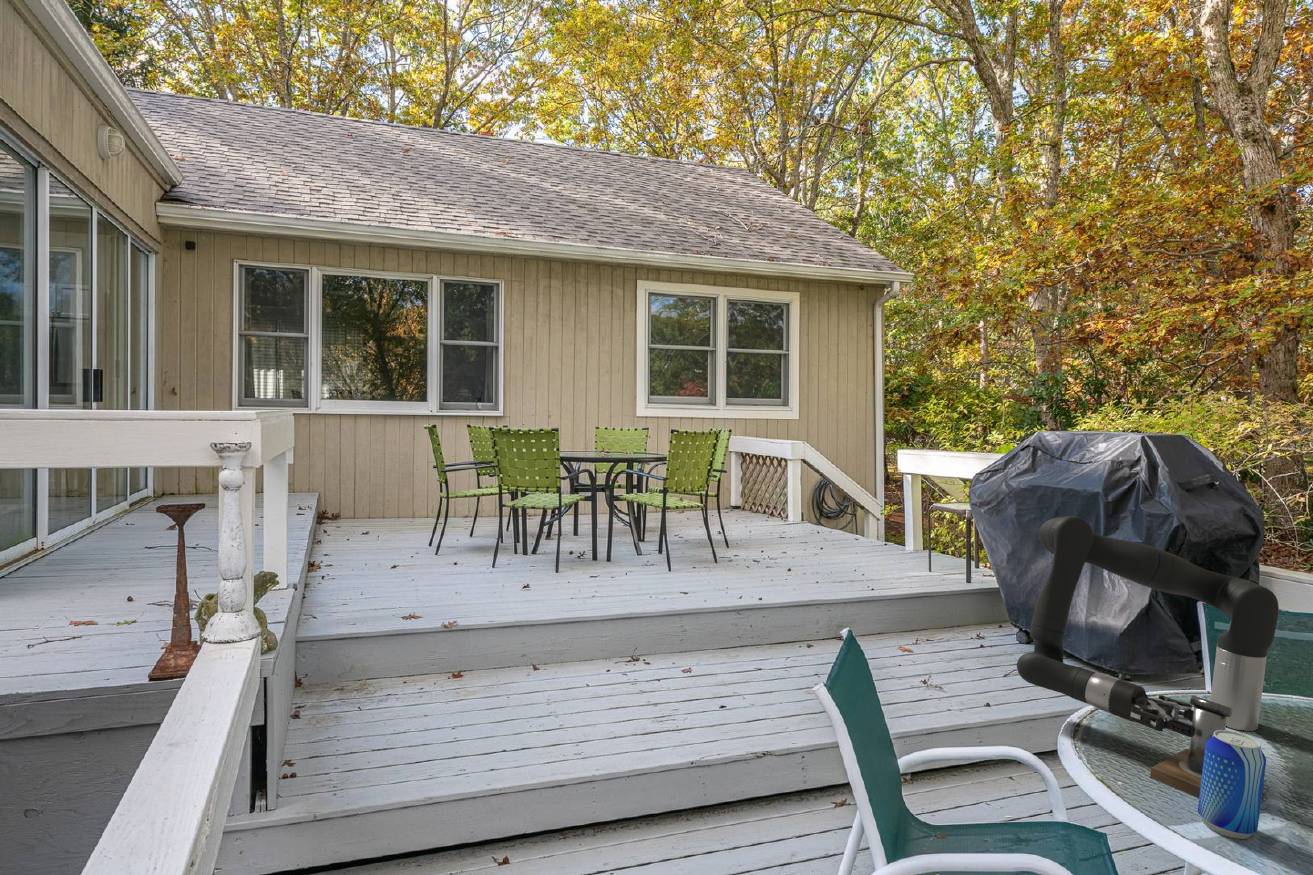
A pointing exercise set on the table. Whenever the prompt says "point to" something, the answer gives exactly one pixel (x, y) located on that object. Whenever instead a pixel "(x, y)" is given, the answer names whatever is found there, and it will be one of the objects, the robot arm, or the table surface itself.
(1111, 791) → the table surface
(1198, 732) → the grey cylinder
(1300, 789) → the table surface
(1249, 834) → the beer can
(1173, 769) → the block
